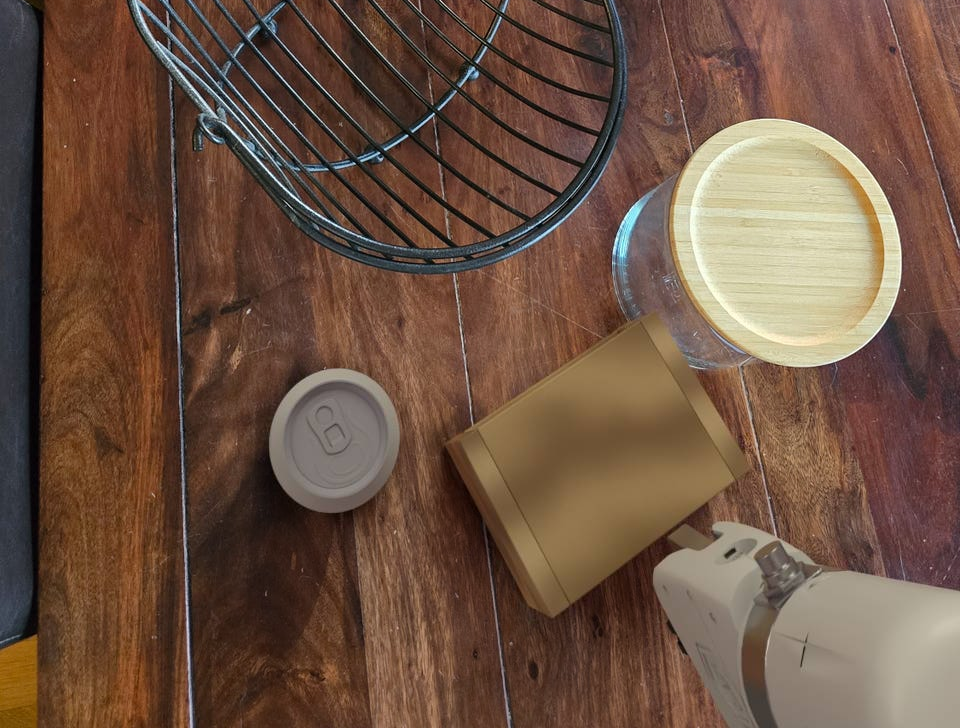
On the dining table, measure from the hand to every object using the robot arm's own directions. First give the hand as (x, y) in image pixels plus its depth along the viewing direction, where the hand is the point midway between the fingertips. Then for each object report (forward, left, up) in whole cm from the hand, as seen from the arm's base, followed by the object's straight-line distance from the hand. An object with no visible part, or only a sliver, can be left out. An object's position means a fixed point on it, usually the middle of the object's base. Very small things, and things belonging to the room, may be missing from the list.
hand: (695, 619), depth 63 cm
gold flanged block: (+9, 0, -6) cm, 11 cm away
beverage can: (+18, +13, -6) cm, 23 cm away
